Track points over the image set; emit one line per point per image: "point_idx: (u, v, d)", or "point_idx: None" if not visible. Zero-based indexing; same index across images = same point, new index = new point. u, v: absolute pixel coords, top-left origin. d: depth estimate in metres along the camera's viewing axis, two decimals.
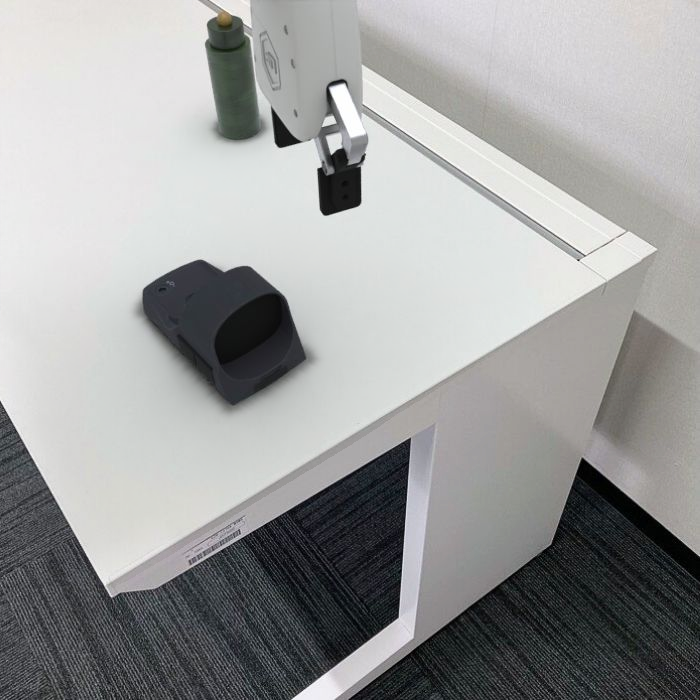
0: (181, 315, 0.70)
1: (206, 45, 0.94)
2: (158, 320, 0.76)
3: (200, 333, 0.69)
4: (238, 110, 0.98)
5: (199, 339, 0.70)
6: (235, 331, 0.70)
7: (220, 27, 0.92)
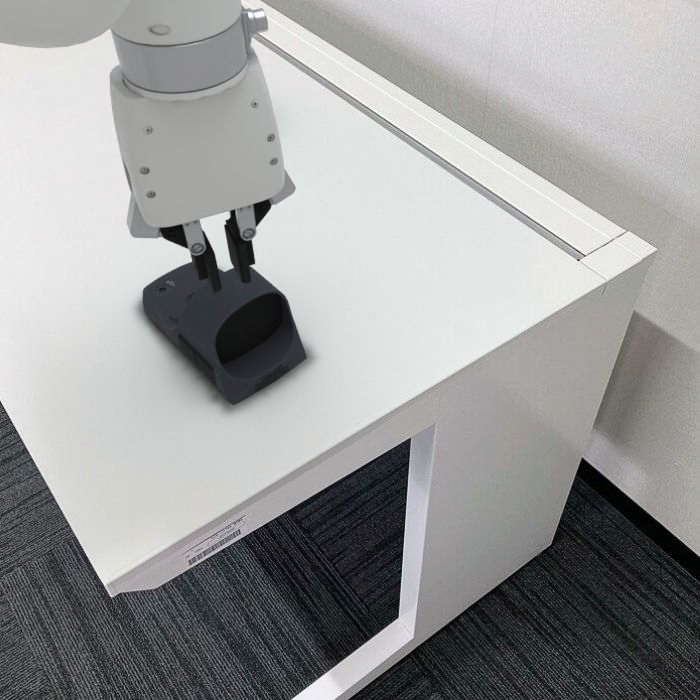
0: (182, 315, 0.70)
1: None
2: (158, 320, 0.76)
3: (200, 333, 0.69)
4: None
5: (200, 339, 0.70)
6: (235, 330, 0.71)
7: None
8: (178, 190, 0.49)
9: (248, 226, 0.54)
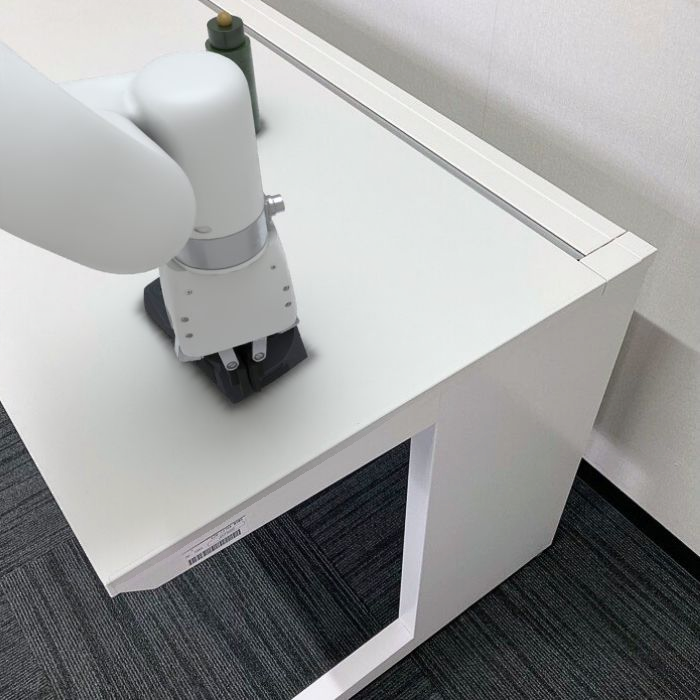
0: None
1: (206, 45, 0.94)
2: (159, 319, 0.77)
3: None
4: None
5: None
6: None
7: (220, 27, 0.92)
8: (211, 331, 0.60)
9: (260, 351, 0.66)
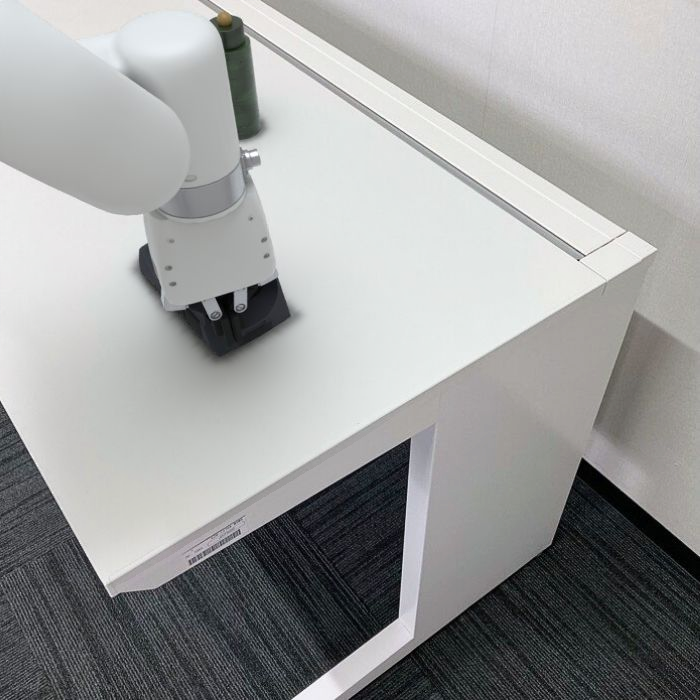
0: None
1: None
2: (152, 277, 0.81)
3: None
4: (238, 110, 0.98)
5: None
6: None
7: (220, 27, 0.92)
8: (193, 280, 0.64)
9: (241, 302, 0.69)
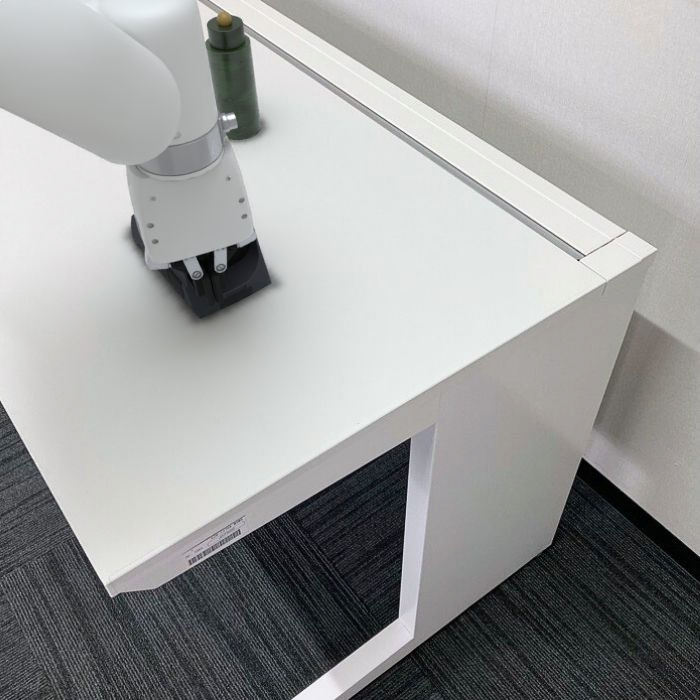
0: None
1: (206, 45, 0.94)
2: (141, 242, 0.84)
3: None
4: (238, 110, 0.98)
5: None
6: None
7: (220, 27, 0.92)
8: (174, 238, 0.68)
9: (221, 262, 0.73)
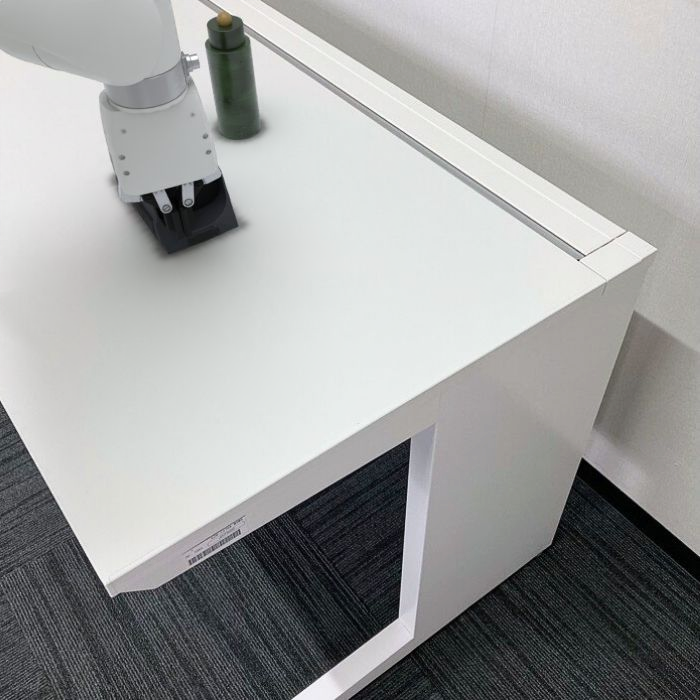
0: None
1: (206, 45, 0.94)
2: None
3: None
4: (238, 110, 0.98)
5: None
6: (174, 190, 0.85)
7: (220, 27, 0.92)
8: (144, 170, 0.75)
9: (188, 197, 0.80)
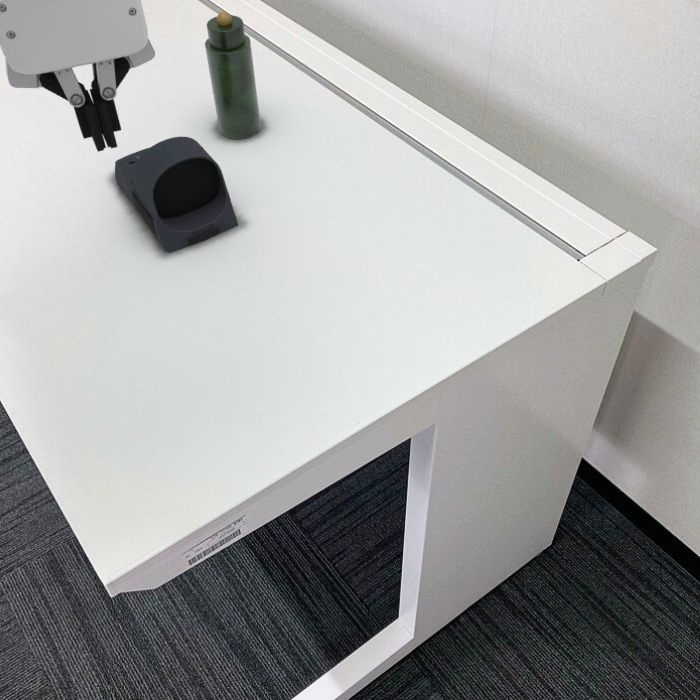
0: (133, 173, 0.85)
1: (206, 45, 0.94)
2: (122, 184, 0.92)
3: (144, 186, 0.84)
4: (238, 110, 0.98)
5: (144, 192, 0.84)
6: (174, 189, 0.85)
7: (220, 27, 0.92)
8: (38, 32, 0.52)
9: (108, 84, 0.57)
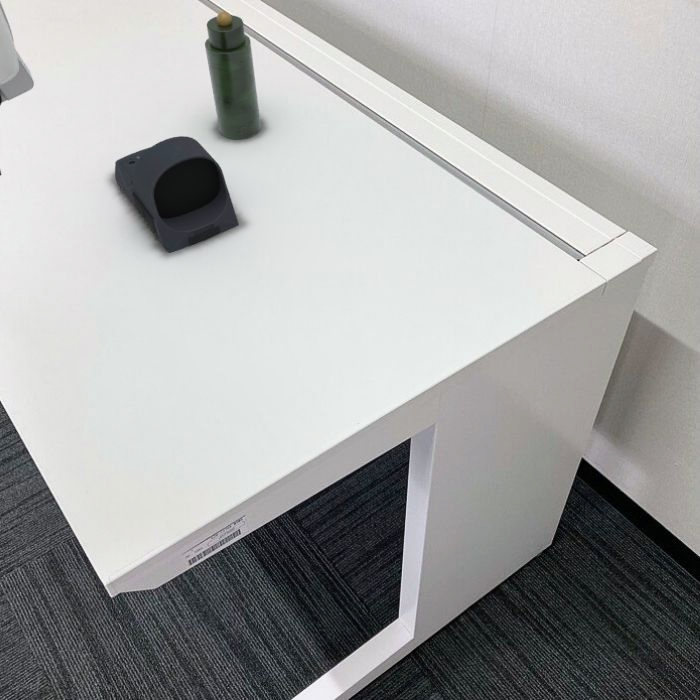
0: (133, 173, 0.85)
1: (206, 45, 0.94)
2: (122, 184, 0.92)
3: (144, 186, 0.84)
4: (238, 110, 0.98)
5: (144, 192, 0.84)
6: (175, 189, 0.85)
7: (220, 27, 0.92)
8: None
9: None
